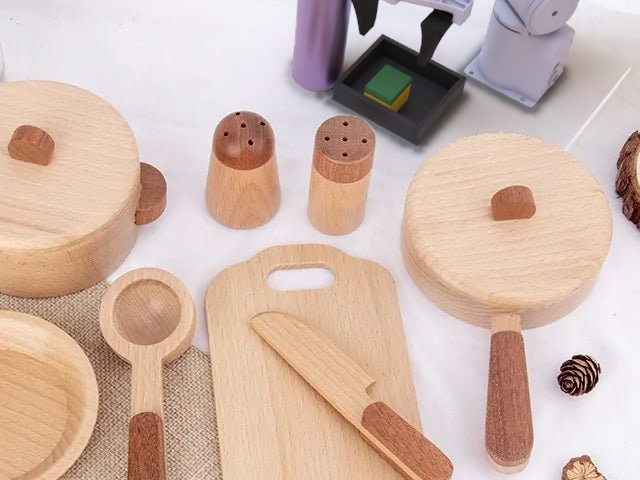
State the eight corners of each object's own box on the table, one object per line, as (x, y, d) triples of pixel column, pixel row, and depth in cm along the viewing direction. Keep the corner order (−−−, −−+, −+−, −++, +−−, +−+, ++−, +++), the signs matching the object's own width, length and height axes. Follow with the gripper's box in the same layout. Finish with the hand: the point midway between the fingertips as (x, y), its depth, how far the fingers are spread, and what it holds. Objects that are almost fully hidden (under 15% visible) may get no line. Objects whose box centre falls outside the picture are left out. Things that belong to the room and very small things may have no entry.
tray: (461, 96, 128) (466, 77, 125) (415, 148, 124) (419, 129, 121) (379, 52, 131) (382, 33, 128) (331, 101, 127) (333, 82, 124)
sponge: (408, 99, 127) (412, 77, 124) (387, 122, 125) (391, 100, 122) (382, 86, 128) (386, 63, 125) (361, 107, 126) (365, 85, 123)
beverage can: (336, 98, 127) (349, -5, 114) (287, 89, 128) (294, -15, 115) (346, 63, 130) (359, -42, 117) (297, 54, 131) (306, -51, 118)
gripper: (331, -71, 107) (320, 36, 119) (456, -8, 103) (432, 96, 115) (370, -107, 110) (356, 1, 122) (494, -48, 106) (466, 58, 118)
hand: (395, 45), depth 119 cm, fingers open, 7 cm apart
